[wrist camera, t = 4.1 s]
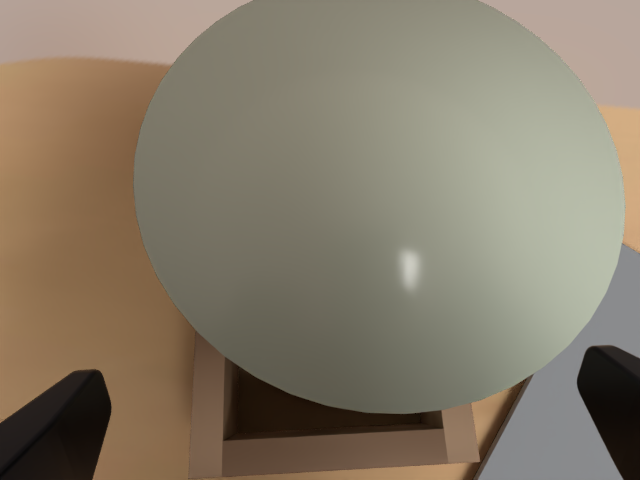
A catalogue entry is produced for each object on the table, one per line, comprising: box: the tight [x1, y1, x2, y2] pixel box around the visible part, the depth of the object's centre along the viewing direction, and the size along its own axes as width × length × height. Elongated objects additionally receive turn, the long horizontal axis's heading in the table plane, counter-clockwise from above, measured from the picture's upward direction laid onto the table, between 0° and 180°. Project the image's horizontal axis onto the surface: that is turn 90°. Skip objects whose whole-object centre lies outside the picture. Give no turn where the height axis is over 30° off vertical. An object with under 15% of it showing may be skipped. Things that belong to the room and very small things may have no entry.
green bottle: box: [133, 0, 625, 414], centre depth 11 cm, size 5×5×14 cm
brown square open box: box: [188, 331, 480, 479], centre depth 16 cm, size 9×9×3 cm
